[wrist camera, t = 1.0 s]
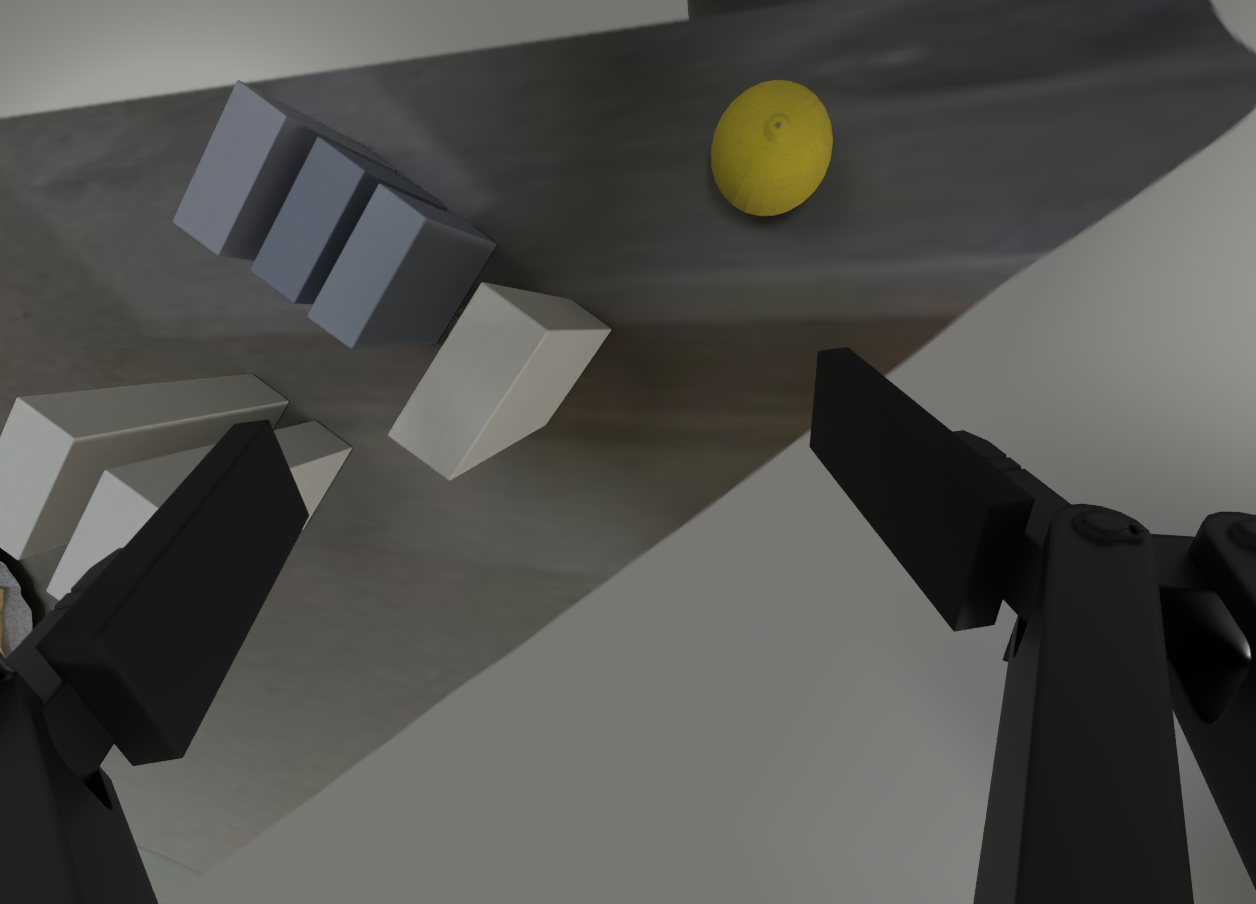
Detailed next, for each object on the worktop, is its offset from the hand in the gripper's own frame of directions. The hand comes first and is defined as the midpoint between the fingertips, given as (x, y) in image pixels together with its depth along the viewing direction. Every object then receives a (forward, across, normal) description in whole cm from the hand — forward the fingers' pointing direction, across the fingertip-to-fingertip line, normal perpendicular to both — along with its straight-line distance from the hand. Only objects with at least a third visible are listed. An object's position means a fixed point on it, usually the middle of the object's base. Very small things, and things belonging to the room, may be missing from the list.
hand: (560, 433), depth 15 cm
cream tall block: (+21, 0, -7) cm, 22 cm away
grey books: (+26, -8, 0) cm, 27 cm away
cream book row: (+24, -19, -12) cm, 33 cm away
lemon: (+21, +12, +2) cm, 25 cm away
